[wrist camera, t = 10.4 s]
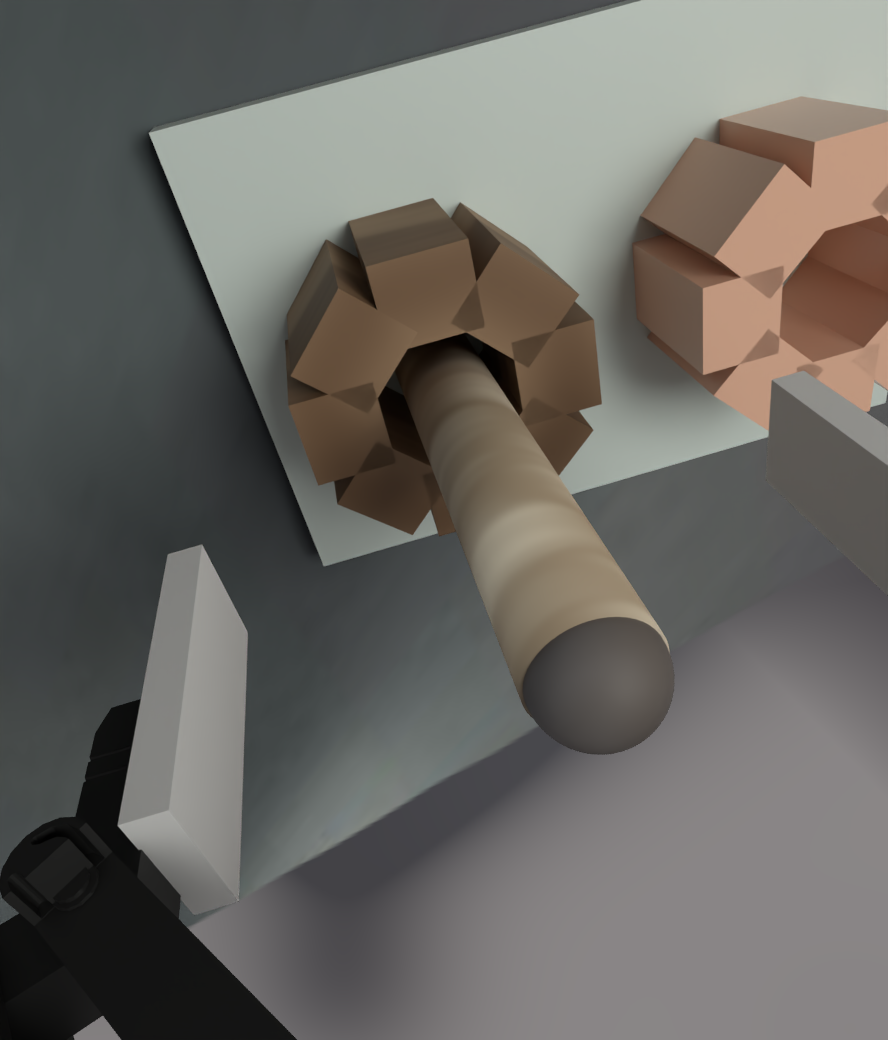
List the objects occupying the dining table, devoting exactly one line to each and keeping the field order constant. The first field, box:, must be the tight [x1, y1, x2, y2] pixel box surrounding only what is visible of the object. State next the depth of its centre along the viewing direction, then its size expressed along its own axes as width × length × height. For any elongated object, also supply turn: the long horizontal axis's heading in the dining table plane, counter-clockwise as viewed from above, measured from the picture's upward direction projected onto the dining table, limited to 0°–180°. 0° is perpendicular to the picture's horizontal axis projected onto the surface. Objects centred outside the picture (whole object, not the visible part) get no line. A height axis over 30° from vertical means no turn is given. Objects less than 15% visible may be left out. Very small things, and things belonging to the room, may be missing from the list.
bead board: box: [149, 0, 888, 566], centre depth 26 cm, size 24×16×1 cm, turn 102°
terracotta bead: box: [632, 96, 888, 431], centre depth 24 cm, size 9×9×5 cm
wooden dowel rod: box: [395, 333, 674, 754], centre depth 18 cm, size 3×3×17 cm
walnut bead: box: [285, 198, 602, 536], centre depth 23 cm, size 9×9×5 cm
